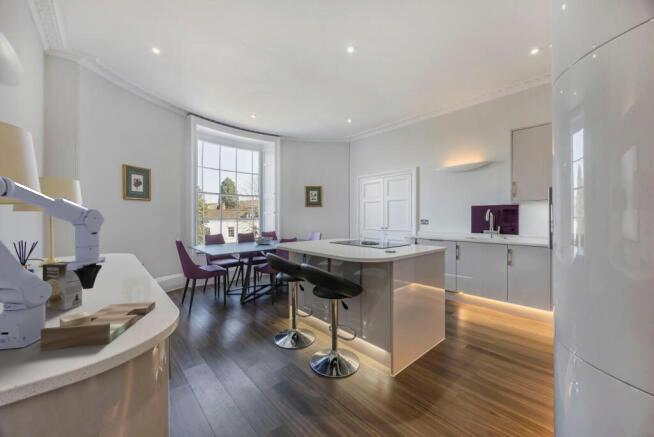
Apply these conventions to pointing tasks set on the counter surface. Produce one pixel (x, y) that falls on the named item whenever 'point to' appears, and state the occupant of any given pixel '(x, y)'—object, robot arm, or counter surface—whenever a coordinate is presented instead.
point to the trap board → (96, 327)
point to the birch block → (75, 319)
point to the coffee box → (62, 286)
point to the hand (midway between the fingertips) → (88, 288)
